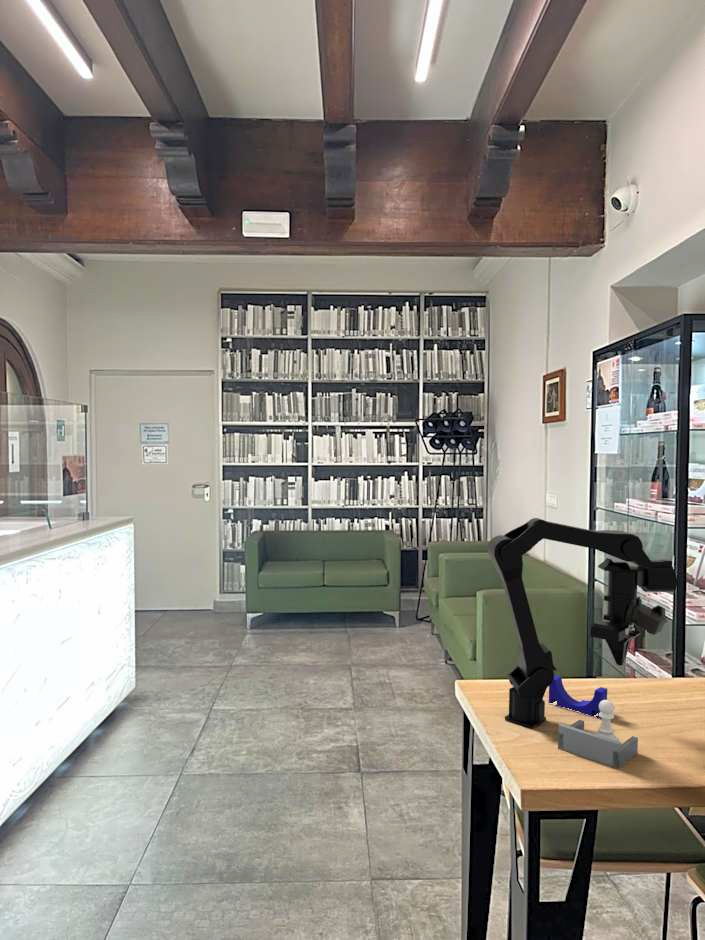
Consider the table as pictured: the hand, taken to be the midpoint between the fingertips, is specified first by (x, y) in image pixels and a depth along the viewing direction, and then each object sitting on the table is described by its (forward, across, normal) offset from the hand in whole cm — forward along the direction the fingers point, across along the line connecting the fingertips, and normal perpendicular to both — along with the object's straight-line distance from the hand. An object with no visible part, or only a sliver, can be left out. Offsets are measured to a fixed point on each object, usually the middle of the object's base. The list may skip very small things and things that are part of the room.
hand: (619, 664), depth 143 cm
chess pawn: (+12, -14, -3) cm, 19 cm away
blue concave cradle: (+12, 0, +9) cm, 15 cm away
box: (+12, -17, -3) cm, 21 cm away
